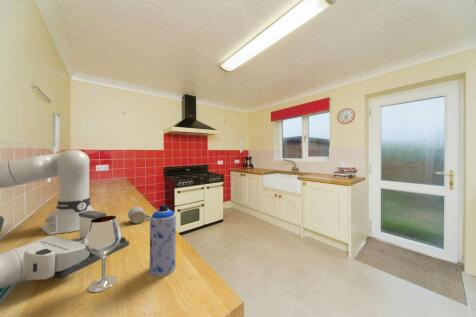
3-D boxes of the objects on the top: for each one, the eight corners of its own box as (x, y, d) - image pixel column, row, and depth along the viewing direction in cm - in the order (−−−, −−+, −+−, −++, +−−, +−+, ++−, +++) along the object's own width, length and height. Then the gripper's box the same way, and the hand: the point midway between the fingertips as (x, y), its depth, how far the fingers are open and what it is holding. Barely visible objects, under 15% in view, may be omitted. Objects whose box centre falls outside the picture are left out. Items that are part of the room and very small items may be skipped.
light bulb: (130, 225, 88) (131, 211, 88) (127, 221, 94) (128, 207, 95) (152, 221, 95) (153, 207, 95) (148, 217, 101) (149, 204, 102)
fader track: (37, 269, 53) (37, 261, 53) (108, 239, 73) (108, 234, 73) (60, 279, 49) (60, 270, 49) (129, 244, 69) (129, 238, 69)
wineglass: (98, 274, 51) (99, 214, 51) (127, 273, 52) (127, 213, 52) (74, 296, 43) (75, 225, 43) (109, 294, 44) (109, 224, 44)
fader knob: (78, 249, 62) (78, 213, 62) (89, 244, 65) (89, 210, 65) (95, 254, 59) (95, 216, 59) (105, 249, 62) (106, 213, 62)
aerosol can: (150, 264, 56) (150, 203, 56) (175, 259, 59) (176, 201, 59) (147, 280, 49) (148, 210, 49) (176, 273, 52) (176, 207, 52)
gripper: (10, 263, 51) (69, 242, 64) (49, 281, 44) (106, 253, 57) (11, 242, 51) (70, 225, 64) (50, 256, 44) (107, 234, 57)
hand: (87, 238), depth 60 cm, fingers closed
